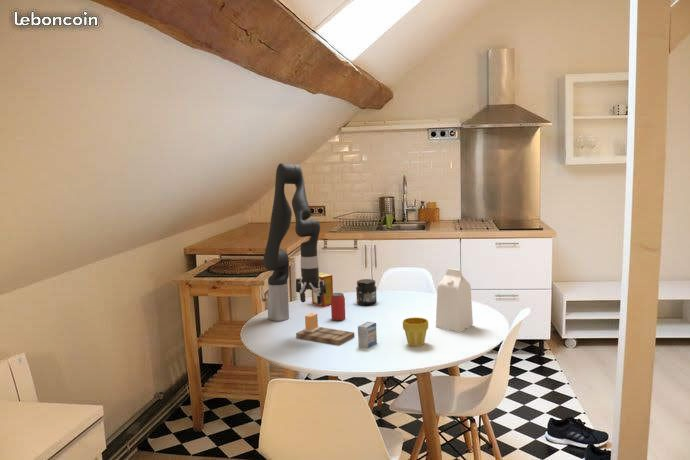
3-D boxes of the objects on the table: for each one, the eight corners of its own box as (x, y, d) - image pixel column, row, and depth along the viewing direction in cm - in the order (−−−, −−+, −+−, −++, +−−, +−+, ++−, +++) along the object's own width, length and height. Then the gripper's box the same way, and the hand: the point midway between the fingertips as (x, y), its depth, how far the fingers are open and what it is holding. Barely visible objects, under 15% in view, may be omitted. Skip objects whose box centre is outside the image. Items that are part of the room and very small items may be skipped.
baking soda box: (333, 304, 314) (332, 274, 312) (323, 307, 310) (322, 276, 308) (322, 301, 321) (321, 271, 319) (312, 303, 317) (311, 273, 315)
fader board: (296, 337, 262) (296, 332, 261) (312, 330, 272) (312, 325, 272) (339, 345, 250) (339, 340, 250) (354, 337, 260) (354, 332, 260)
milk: (472, 325, 271) (472, 268, 267) (458, 332, 262) (458, 273, 259) (450, 321, 279) (449, 265, 275) (435, 327, 271) (435, 269, 267)
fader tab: (303, 331, 263) (302, 316, 262) (311, 327, 268) (310, 312, 267) (312, 332, 261) (311, 317, 260) (320, 329, 266) (319, 313, 265)
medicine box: (367, 348, 245) (367, 327, 244) (358, 346, 248) (357, 326, 246) (377, 342, 252) (376, 322, 251) (367, 341, 254) (367, 321, 253)
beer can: (343, 321, 284) (343, 296, 282) (330, 320, 285) (329, 295, 284) (346, 317, 291) (345, 292, 289) (333, 316, 292) (332, 292, 290)
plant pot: (402, 339, 254) (401, 317, 253) (427, 339, 254) (426, 316, 253) (404, 348, 244) (403, 324, 243) (429, 347, 244) (429, 324, 242)
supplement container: (357, 301, 320) (357, 278, 318) (377, 301, 319) (377, 278, 317) (355, 306, 310) (354, 283, 308) (375, 306, 308) (375, 283, 307)
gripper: (291, 266, 261) (293, 303, 263) (318, 268, 254) (320, 306, 256) (301, 263, 268) (303, 299, 270) (328, 265, 260) (330, 302, 262)
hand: (311, 303), depth 263 cm, fingers open, 8 cm apart
